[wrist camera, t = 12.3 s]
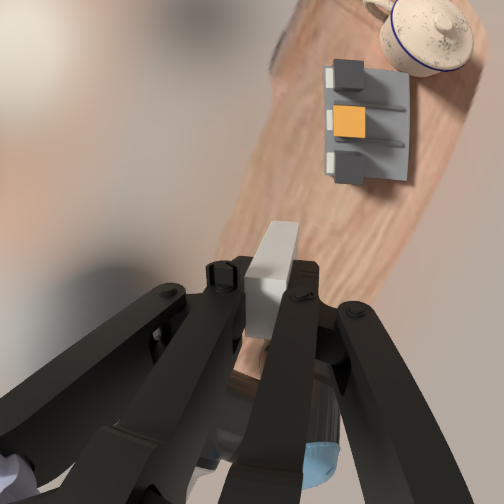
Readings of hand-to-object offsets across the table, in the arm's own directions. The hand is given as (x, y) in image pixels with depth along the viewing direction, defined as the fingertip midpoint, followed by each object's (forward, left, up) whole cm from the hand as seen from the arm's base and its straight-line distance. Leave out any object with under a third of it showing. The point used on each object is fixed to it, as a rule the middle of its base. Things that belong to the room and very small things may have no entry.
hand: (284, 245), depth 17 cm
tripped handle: (+7, -5, -21) cm, 22 cm away
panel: (+7, -7, -23) cm, 25 cm away
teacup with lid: (+18, -12, -23) cm, 32 cm away
